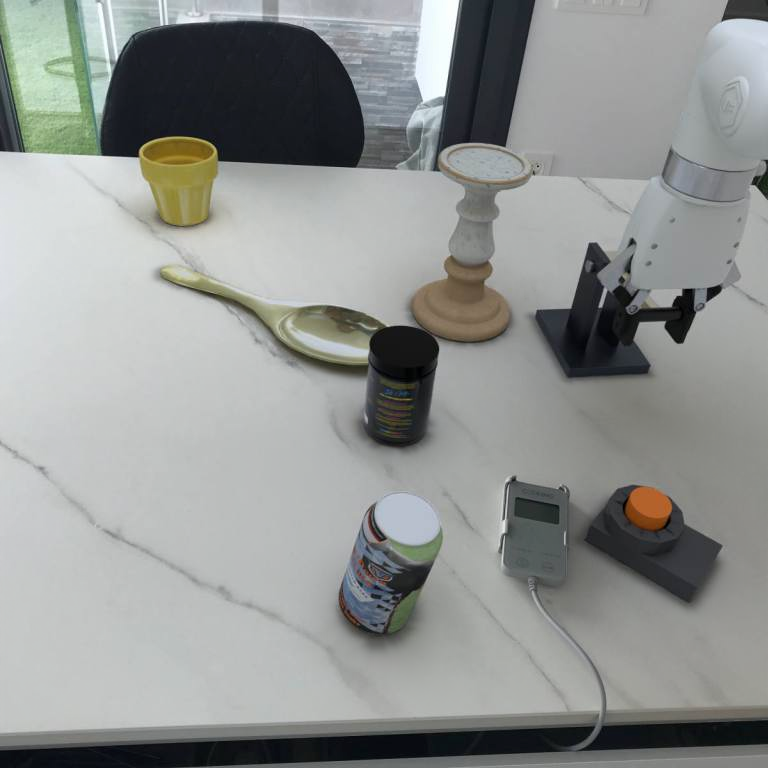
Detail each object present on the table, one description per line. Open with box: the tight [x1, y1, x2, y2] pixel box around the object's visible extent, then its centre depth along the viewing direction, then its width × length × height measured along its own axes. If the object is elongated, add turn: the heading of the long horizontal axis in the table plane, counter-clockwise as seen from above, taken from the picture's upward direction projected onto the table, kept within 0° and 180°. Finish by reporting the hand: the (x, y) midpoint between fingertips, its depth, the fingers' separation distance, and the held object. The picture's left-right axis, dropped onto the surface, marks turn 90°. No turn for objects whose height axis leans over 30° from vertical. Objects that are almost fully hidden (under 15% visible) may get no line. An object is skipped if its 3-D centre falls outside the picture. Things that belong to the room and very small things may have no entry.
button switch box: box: [584, 484, 723, 603], centre depth 69 cm, size 10×6×4 cm, turn 51°
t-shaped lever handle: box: [603, 250, 684, 323], centre depth 83 cm, size 13×5×2 cm, turn 10°
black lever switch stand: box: [534, 242, 651, 378], centre depth 90 cm, size 12×10×13 cm
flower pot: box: [138, 136, 219, 227], centre depth 108 cm, size 10×10×10 cm
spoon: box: [160, 264, 391, 366], centre depth 93 cm, size 35×11×2 cm, turn 59°
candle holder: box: [411, 142, 534, 343], centre depth 91 cm, size 12×12×20 cm
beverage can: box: [338, 490, 444, 636], centre depth 59 cm, size 6×7×12 cm
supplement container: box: [363, 324, 440, 447], centre depth 77 cm, size 7×7×10 cm
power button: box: [625, 486, 672, 531], centre depth 68 cm, size 4×4×2 cm
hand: (647, 335), depth 80 cm, fingers closed on t-shaped lever handle, 5 cm apart
